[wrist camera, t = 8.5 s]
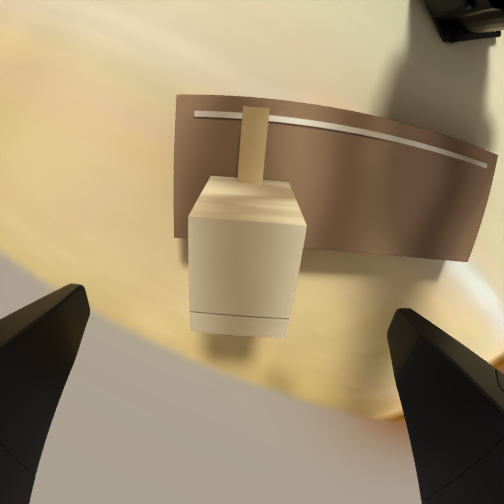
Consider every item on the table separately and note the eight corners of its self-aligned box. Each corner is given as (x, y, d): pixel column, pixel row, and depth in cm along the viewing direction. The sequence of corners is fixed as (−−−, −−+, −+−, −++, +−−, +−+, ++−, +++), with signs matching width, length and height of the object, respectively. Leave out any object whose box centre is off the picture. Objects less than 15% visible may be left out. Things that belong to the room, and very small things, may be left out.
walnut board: (476, 147, 17) (498, 155, 14) (451, 246, 20) (468, 262, 18) (187, 95, 16) (176, 94, 14) (183, 221, 20) (173, 238, 17)
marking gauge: (291, 110, 16) (322, 116, 9) (274, 250, 20) (285, 338, 13) (219, 104, 16) (192, 105, 8) (212, 246, 20) (190, 331, 12)
